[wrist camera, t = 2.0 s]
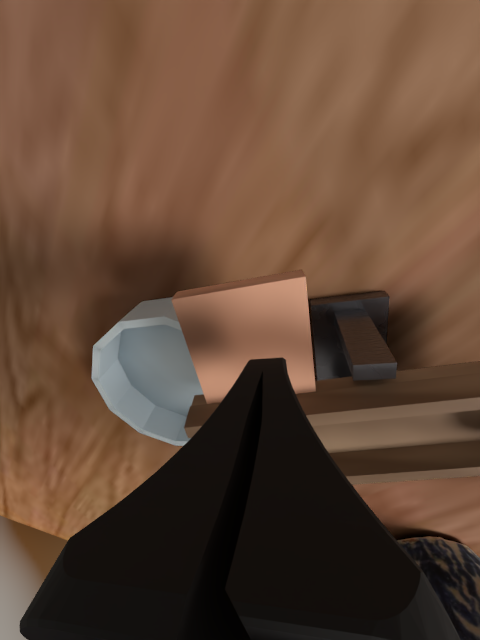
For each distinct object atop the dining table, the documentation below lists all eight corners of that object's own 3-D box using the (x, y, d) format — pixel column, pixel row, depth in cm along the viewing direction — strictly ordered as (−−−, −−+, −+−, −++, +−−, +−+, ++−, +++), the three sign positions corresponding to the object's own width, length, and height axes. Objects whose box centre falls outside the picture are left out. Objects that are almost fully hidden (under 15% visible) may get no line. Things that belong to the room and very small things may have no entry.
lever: (527, 417, 16) (609, 488, 13) (218, 446, 19) (209, 512, 15) (613, 208, 11) (805, 222, 7) (162, 289, 14) (126, 330, 10)
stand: (378, 397, 23) (413, 479, 17) (318, 399, 24) (329, 476, 18) (384, 290, 18) (434, 348, 12) (309, 299, 19) (321, 356, 13)
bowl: (267, 413, 26) (265, 446, 22) (146, 416, 28) (130, 445, 25) (241, 287, 20) (233, 308, 17) (92, 307, 23) (62, 328, 20)
